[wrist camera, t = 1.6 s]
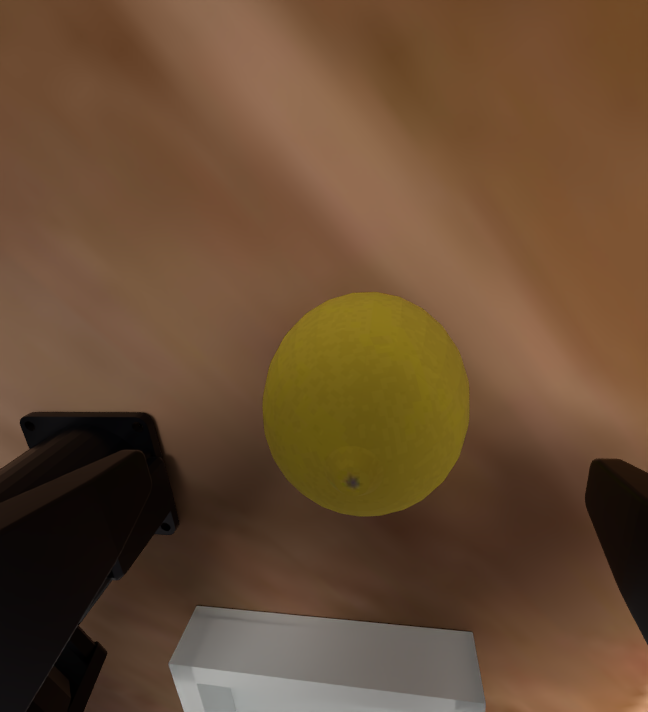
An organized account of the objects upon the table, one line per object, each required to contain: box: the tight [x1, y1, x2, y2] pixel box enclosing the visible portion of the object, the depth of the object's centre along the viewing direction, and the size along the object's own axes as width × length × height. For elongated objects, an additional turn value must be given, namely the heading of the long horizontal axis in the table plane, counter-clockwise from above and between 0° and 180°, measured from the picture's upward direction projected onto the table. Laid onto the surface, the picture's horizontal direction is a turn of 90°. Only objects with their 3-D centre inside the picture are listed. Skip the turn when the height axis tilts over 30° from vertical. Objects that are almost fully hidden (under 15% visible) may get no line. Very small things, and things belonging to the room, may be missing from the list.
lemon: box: [263, 292, 469, 517], centre depth 11 cm, size 6×6×8 cm
